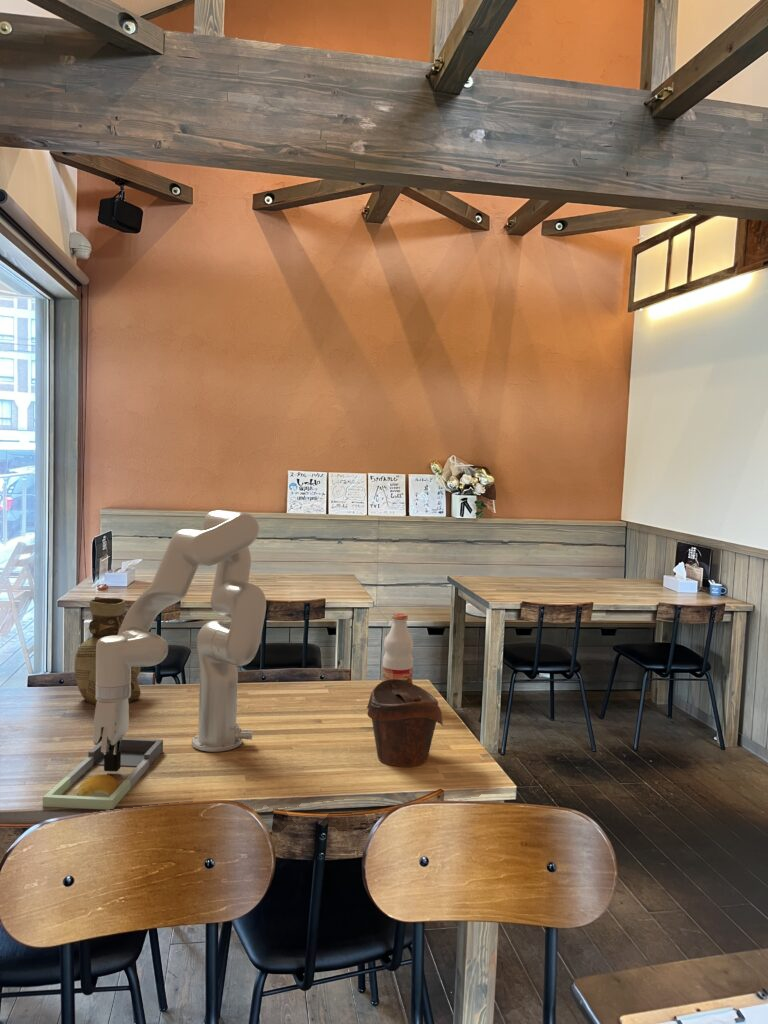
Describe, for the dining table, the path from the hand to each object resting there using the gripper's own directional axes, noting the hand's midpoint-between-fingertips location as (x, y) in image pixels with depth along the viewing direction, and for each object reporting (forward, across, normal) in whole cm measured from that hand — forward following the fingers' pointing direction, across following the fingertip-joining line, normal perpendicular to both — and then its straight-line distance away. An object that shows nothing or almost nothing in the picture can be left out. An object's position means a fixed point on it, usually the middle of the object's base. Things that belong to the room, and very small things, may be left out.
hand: (112, 769), depth 168 cm
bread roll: (+1, +11, +1) cm, 11 cm away
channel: (+1, +2, 0) cm, 2 cm away
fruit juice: (+2, -60, +65) cm, 89 cm away
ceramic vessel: (+1, -54, -22) cm, 58 cm away
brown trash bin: (+2, -17, +67) cm, 69 cm away
